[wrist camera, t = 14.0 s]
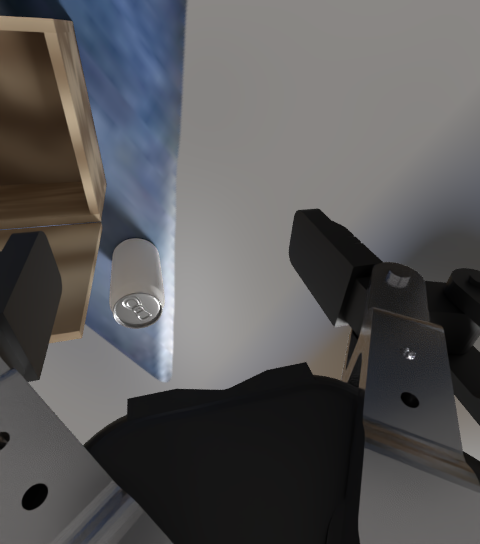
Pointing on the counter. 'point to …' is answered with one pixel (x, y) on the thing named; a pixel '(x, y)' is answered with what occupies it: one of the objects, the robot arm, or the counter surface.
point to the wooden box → (46, 128)
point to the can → (136, 284)
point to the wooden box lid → (70, 272)
